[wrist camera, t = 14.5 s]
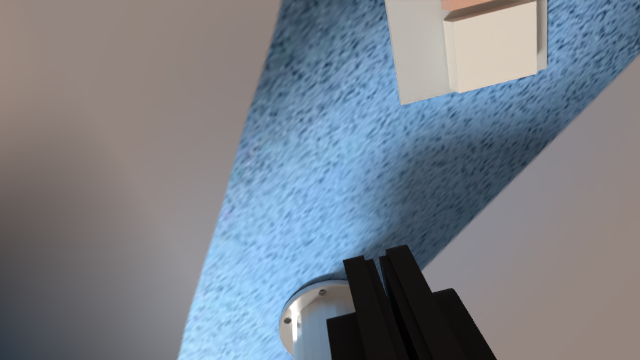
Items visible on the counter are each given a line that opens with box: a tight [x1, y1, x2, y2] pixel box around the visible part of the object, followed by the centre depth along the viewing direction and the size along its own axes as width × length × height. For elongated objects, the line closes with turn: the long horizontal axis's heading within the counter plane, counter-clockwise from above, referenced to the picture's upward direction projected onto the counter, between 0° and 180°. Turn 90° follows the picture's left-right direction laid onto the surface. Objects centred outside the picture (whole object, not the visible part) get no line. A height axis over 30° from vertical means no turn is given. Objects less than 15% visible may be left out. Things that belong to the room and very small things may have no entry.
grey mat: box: [385, 0, 547, 105], centre depth 35 cm, size 14×14×1 cm
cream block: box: [443, 1, 537, 93], centre depth 36 cm, size 6×2×7 cm
